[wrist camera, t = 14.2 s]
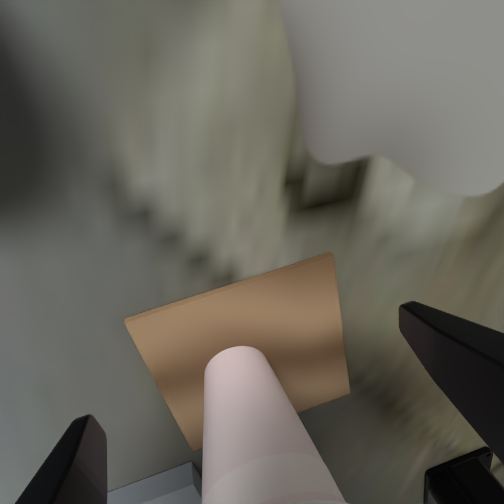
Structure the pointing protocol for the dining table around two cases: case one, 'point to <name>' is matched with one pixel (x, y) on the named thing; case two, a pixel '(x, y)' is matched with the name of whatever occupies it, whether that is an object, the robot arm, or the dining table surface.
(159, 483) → the white open box
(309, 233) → the dining table surface
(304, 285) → the coaster
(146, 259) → the dining table surface
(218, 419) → the smoothie
